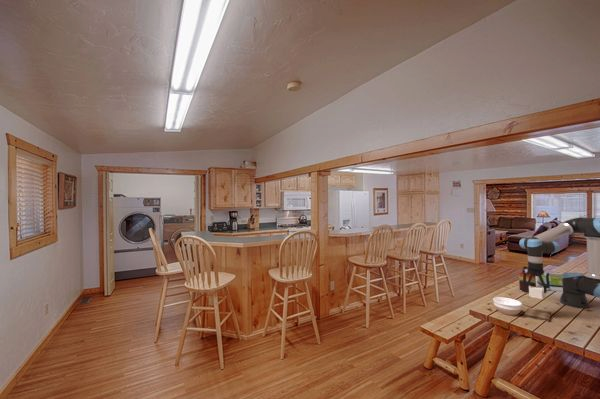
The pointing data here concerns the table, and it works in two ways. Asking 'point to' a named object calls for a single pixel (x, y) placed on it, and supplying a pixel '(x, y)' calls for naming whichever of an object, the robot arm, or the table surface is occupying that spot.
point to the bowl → (507, 305)
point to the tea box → (552, 281)
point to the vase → (532, 283)
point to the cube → (536, 292)
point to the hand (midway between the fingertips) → (536, 296)
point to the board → (538, 314)
